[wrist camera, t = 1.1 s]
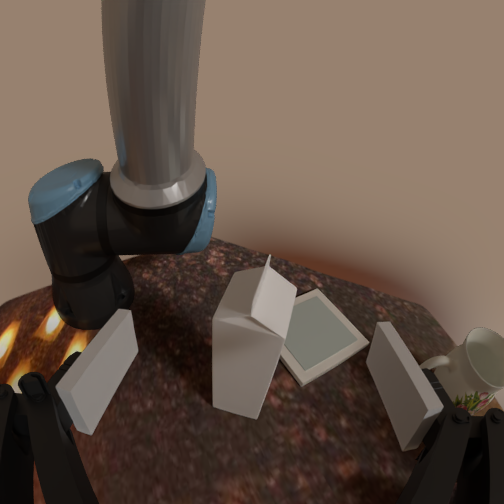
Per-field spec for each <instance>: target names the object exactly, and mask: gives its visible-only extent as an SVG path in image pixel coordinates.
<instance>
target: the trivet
mask: <svg viewBox="0 0 504 504" xmlns="http://www.w3.org/2000/svg"><path fill="white" fill-rule="evenodd" d="M368 344H369V341H368V340H367V339H366V338H365V337H364V336H363V335H362V334H361V333H360V332H359V331H358V330H357V329H356V328H355V327H354V326H353V325H352V324H351V323H350V321H349V320H348V319H347V318H346V317H345V316H344V315H343V314H342V313H341V312H340V311H339V310H338V309H337V308H336V307H335V306H334V305H333V304H332V303H331V302H330V301H329V300H328V299H327V298H326V297H325V296H324V295H323V293H322V292H321V291H320V290H319V289H315V290H313V291H311V292H308V293H306V294H303V295H301V296H299V297H296V298H295V301H294V305H293V310H292V314H291V319H290V323H289V327H288V331H287V336H286V340H285V343H284V346H283V348H282V351H281V354H280V357H279V358H280V360H281V361H282V362H283V364H284V365H285V366H286V367H287V369H288V370H289V371H290V373H291V374H292V375H293V377H294V378H295V379H296V381H297V382H298V383H299V384H300V386H301V387H302V386H304V385H306V384H307V383H309V382H311V381H312V380H314V379H316V378H318V377H319V376H321V375H323V374H324V373H326V372H328V371H329V370H331V369H332V368H334V367H336V366H337V365H339V364H340V363H342V362H344V361H345V360H347V359H348V358H350V357H351V356H353V355H354V354H356V353H357V352H359V351H360V350H362V349H363V348H365V347H366V346H367V345H368Z"/></svg>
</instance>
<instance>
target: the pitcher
mask: <svg viewBox="0 0 504 504" xmlns="http://www.w3.org/2000/svg"><path fill="white" fill-rule="evenodd" d="M437 366H438V367H437ZM419 367H420V368H421V369H424V368H428V369H429V370H430V369H432V368H434V367H437V368H436V370H435V372H434V374H435V375H436V377H437V379H438V380H439V383H441V385H442V386H443V388H444V389H445V391H446V393H447V394H448V396H449V397H450V399H451V400H452V402H453V404H454V405H455V407H458V408H463V409H465V410H467V411H468V412H469V413H470V415H471V416H472V415H474V414H475V413H477V412H479V411H480V410H481V409H483V408H484V407H485V406H486V405H487V404H488V403H490V401H491V400H492V399H493V398H494V396H495V395H496V394H497V392H498V391H499V390H500V389H502V388H504V338H502V337H501V336H500V335H499V334H498V333H496V332H494V331H492V330H490V329H487V328H481V327H479V328H475V329H473V330H471V331H470V332H469V334H468V335H467V337H466V339H465V341H464V342H463V344H462V345H460V346H458V347H456V348H455V349H453V350H452V351H451V352H450V353H449V354H448V355H447V356H436V357H433V358H430V359H428V360H426V361H425V362H423V363H422V364H421V365H420V366H419Z"/></svg>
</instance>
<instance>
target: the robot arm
mask: <svg viewBox="0 0 504 504" xmlns="http://www.w3.org/2000/svg"><path fill="white" fill-rule="evenodd" d="M204 8H205V0H102V34H103V50H104V63H105V73H106V83H107V91H108V99H109V106H110V114H111V120H112V127H113V133H114V139H115V144H116V149H117V155H118V160H117V162H116V163H115V164H114V166H113V168H112V171H111V172H103V171H104V170H103V166H102V164H101V162H100V161H99V160H96V159H95V160H93V159H82V160H77V161H74V162H71V163H68V164H65V165H63V166H60V167H58V168H56V169H54V170H53V171H51V172H49V173H47V174H46V175H45V176H43V177H42V178H41V179H40V180H38V181H37V182H36V183H35V184H34V186H33V187H32V189H31V191H30V193H29V198H28V202H29V208H30V213H31V221H32V223H33V224H34V227H35V230H36V233H37V236H38V239H39V242H40V245H41V248H42V250H43V253H44V256H45V259H46V261H47V264H48V266H49V269H50V271H51V274H52V289H53V301H54V304H55V307H56V309H57V311H58V313H59V315H60V317H61V318H62V320H63V321H64V322H65V323H67V324H68V325H70V326H72V327H74V328H78V329H83V330H92V329H98V328H102V327H103V328H102V329H101V330H100V331H99V333H98V334H97V335H96V336H95V337H94V339H93V340H92V341H91V342H90V343H89V345H88V346H87V347H86V348H85V350H84V351H83V352H75V353H73V354H72V355H70V356H69V357H68V358H67V359H66V360H65V362H64V363H63V364H62V365H61V366H60V368H59V370H57V371H56V373H55V374H54V375H53V376H52V377H51V379H50V380H49V381H48V383H46V381H45V379H44V376H43V375H42V374H41V373H38V372H30V373H27V374H25V375H23V376H22V377H21V378H20V380H19V382H18V386H19V388H20V390H21V392H22V394H19V393H15V392H14V390H13V389H12V387H11V386H10V385H9V384H0V504H34V496H33V471H34V460H35V465H36V469H37V474H38V478H39V481H40V485H41V489H42V492H43V496H44V499H45V502H46V504H99V502H98V500H97V498H96V496H95V493H94V491H93V489H92V486H91V484H90V482H89V479H88V477H87V474H86V472H85V469H84V466H83V464H82V461H81V458H80V455H79V452H78V450H77V447H76V444H75V440H74V437H73V434H72V431H71V430H70V427H71V425H72V423H74V425H75V427H76V429H77V430H78V431H80V432H83V433H86V434H89V435H92V434H93V432H94V430H95V428H96V426H97V424H98V422H99V420H100V419H101V417H102V415H103V413H104V411H105V409H106V408H107V406H108V404H109V402H110V400H111V398H112V397H113V395H114V393H115V391H116V389H117V388H118V386H119V384H120V382H121V381H122V379H123V377H124V375H125V373H126V372H127V370H128V368H129V366H130V365H131V363H132V361H133V360H134V358H135V356H136V354H137V353H138V347H137V342H136V336H135V331H134V325H133V319H132V313H131V310H128V309H129V308H130V306H131V304H132V302H133V299H134V285H133V281H132V277H131V274H130V272H129V271H128V269H127V268H126V266H125V265H124V263H123V262H122V260H121V259H120V257H119V256H118V255H151V254H176V255H182V254H184V253H195V252H200V251H202V250H203V249H205V248H206V246H207V245H208V243H209V241H210V238H211V235H212V230H213V225H214V212H215V208H216V198H217V186H216V176H215V173H214V171H213V170H211V169H209V168H206V167H205V163H204V161H203V158H202V157H201V156H200V154H199V153H197V151H195V150H194V126H195V108H196V91H197V77H198V66H199V54H200V44H201V34H202V25H203V15H204ZM366 364H367V366H368V368H369V370H370V373H371V375H372V377H373V380H374V382H375V384H376V387H377V389H378V391H379V394H380V396H381V399H382V401H383V403H384V406H385V408H386V411H387V413H388V416H389V418H390V421H391V423H392V426H393V428H394V431H395V433H396V436H397V439H398V441H399V444H400V446H401V449H402V452H403V451H407V450H412V449H416V448H418V446H419V445H420V443H421V442H422V440H423V442H424V444H425V448H424V449H423V450H422V452H421V453H420V454H419V456H418V457H417V458H416V460H418V461H417V464H416V466H415V468H414V470H413V472H412V474H411V476H410V478H409V480H408V482H407V484H406V486H405V488H404V490H403V491H402V493H401V495H400V497H399V499H398V500H397V502H396V504H448V502H449V499H450V497H451V494H452V491H453V488H454V486H455V483H456V480H457V489H456V499H455V504H504V412H503V411H502V410H500V409H498V408H491V409H489V410H488V411H487V412H486V414H485V415H484V416H471V415H470V413H469V412H468V411H467V410H465V409H463V408H458V407H455V405H454V404H453V402H452V400H451V399H450V397H449V396H448V394H447V393H446V391H445V389H444V388H443V386H442V385H441V383H439V380H438V379H437V377H436V375H435V374H434V373H433V372H431V371H430V370H429V369H428V368H424V369H421V368H420V367H419V365H418V364H417V362H416V361H415V359H414V357H413V356H412V354H411V353H410V351H409V350H408V348H407V347H406V345H405V344H404V342H403V341H402V339H401V338H400V336H399V335H398V333H397V332H396V330H395V329H394V327H393V326H392V324H391V323H390V322H377V325H376V329H375V333H374V336H373V340H372V344H371V347H370V350H369V354H368V357H367V360H366Z"/></svg>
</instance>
